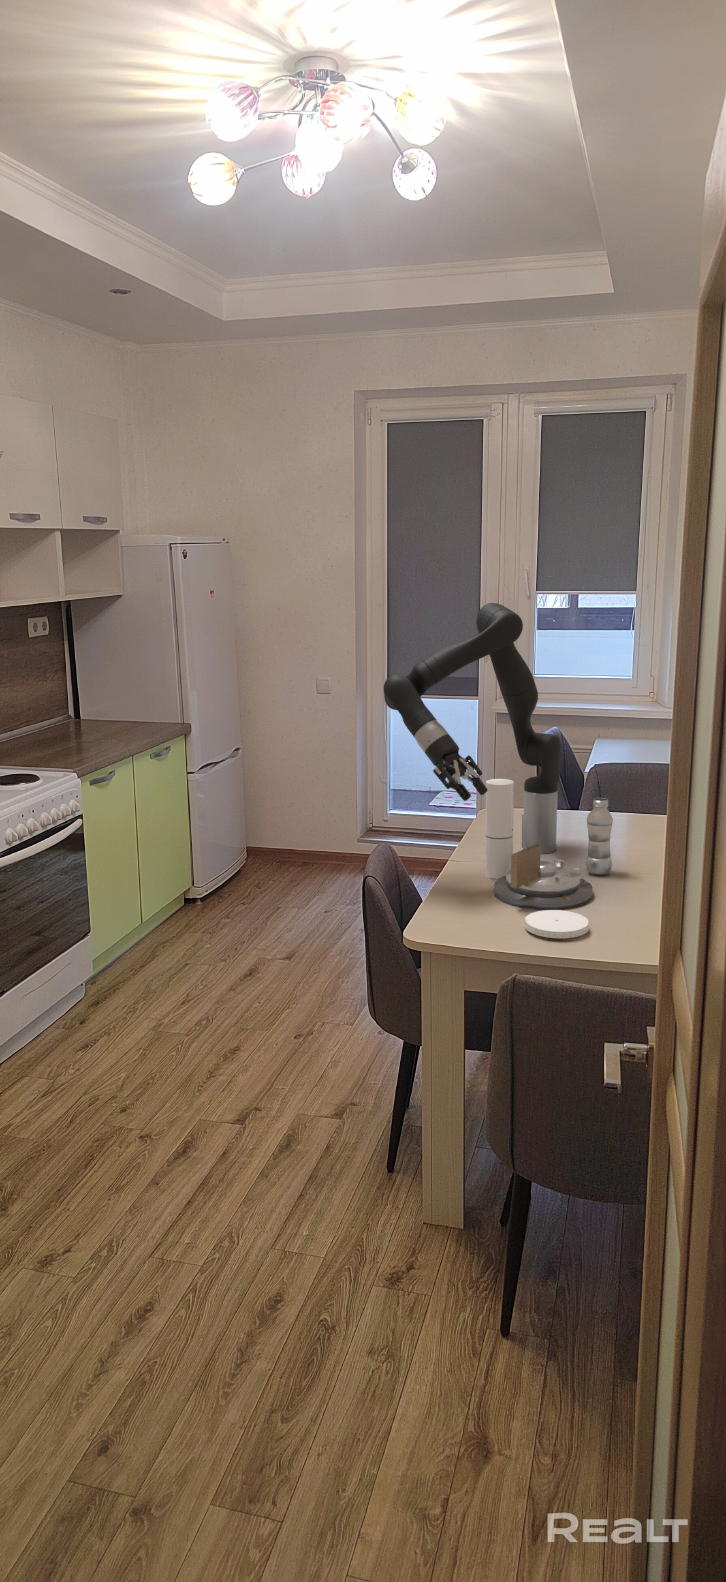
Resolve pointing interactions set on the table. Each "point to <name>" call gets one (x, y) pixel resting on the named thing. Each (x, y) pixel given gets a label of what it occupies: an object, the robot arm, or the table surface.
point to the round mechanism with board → (540, 875)
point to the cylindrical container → (498, 827)
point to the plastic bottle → (599, 838)
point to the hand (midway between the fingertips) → (476, 795)
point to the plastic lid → (556, 924)
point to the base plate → (543, 902)
